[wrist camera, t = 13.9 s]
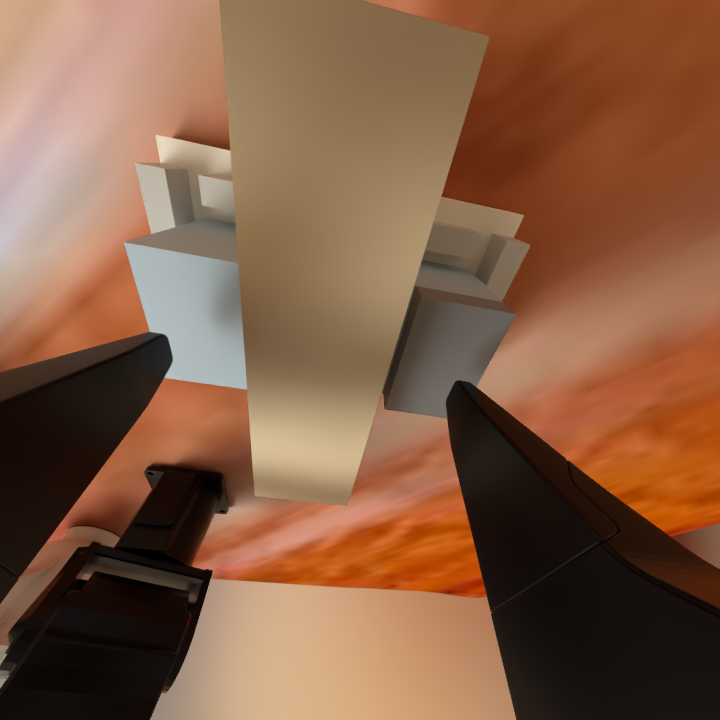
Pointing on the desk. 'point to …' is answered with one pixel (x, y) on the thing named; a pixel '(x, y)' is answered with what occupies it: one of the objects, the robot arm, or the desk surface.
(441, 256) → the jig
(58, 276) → the desk surface
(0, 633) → the teacup
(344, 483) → the tan rectangular bar
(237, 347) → the light blue block
